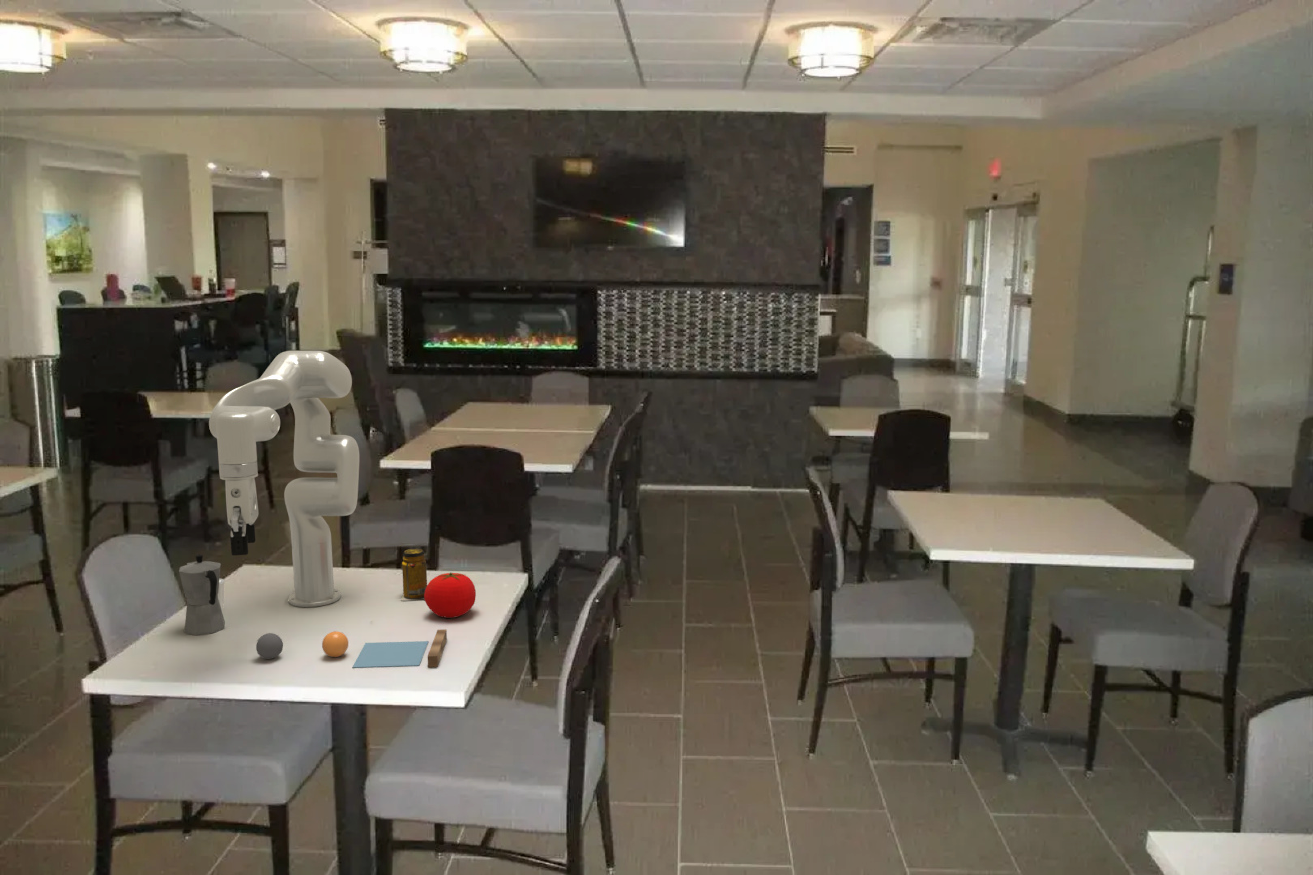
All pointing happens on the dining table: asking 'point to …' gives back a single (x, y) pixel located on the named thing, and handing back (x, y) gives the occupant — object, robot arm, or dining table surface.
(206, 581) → the coffeepot
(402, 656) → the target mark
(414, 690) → the dining table surface
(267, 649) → the gray sphere
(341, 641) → the object ball
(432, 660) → the stopper wall
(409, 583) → the condiment
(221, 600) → the shot glass
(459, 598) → the tomato
